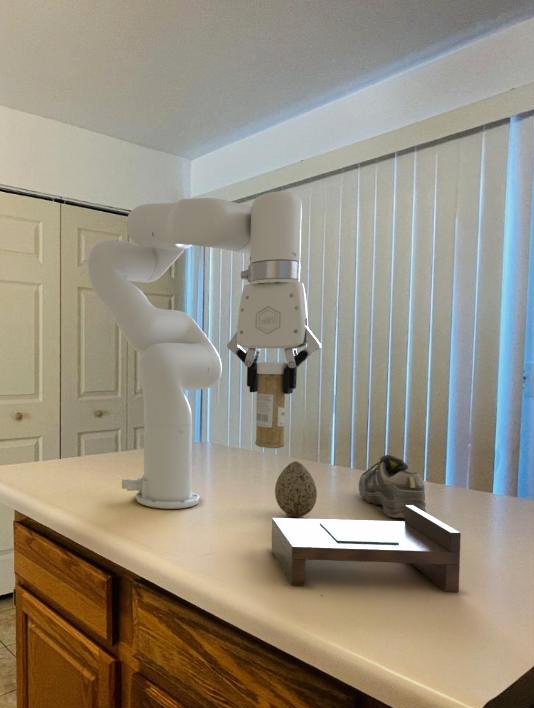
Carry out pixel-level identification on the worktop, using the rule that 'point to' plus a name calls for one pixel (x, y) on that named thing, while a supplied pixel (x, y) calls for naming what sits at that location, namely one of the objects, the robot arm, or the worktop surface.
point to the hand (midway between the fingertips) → (271, 391)
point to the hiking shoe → (392, 487)
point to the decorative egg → (295, 490)
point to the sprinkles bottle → (270, 405)
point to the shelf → (370, 545)
